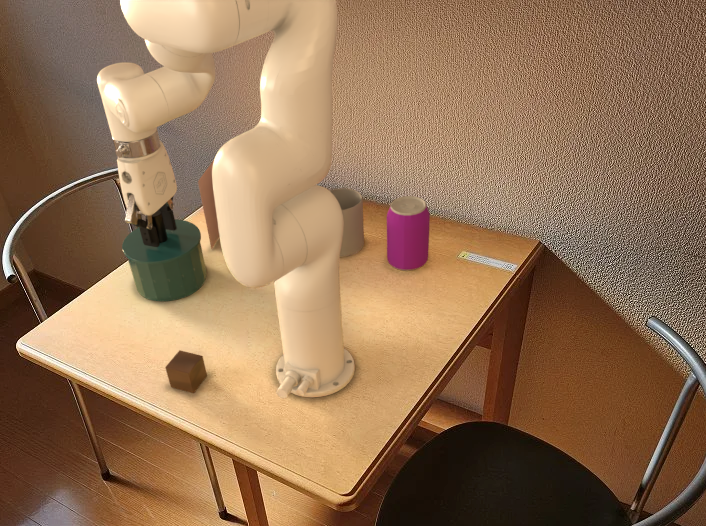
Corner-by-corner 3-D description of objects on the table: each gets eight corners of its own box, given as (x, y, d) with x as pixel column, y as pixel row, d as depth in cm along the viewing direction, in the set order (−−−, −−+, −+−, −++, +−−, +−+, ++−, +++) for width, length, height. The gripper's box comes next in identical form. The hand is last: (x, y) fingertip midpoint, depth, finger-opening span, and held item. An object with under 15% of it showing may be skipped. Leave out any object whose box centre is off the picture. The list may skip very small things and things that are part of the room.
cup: (353, 229, 149) (351, 184, 142) (371, 248, 143) (369, 202, 136) (314, 240, 147) (310, 195, 140) (331, 260, 141) (328, 214, 134)
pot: (183, 307, 135) (173, 268, 129) (122, 294, 140) (110, 256, 134) (219, 267, 143) (211, 229, 138) (160, 256, 148) (151, 218, 143)
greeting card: (225, 220, 156) (214, 153, 146) (258, 221, 154) (249, 154, 144) (207, 249, 149) (193, 181, 138) (242, 251, 147) (230, 182, 136)
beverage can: (383, 271, 137) (382, 214, 129) (391, 248, 142) (391, 192, 134) (424, 275, 134) (426, 217, 126) (431, 252, 140) (433, 195, 132)
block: (193, 393, 117) (188, 373, 114) (170, 387, 119) (164, 367, 116) (207, 376, 120) (202, 355, 117) (184, 370, 122) (179, 350, 119)
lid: (175, 273, 129) (167, 240, 124) (108, 260, 134) (98, 228, 130) (215, 230, 138) (209, 198, 134) (151, 219, 144) (143, 188, 139)
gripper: (126, 168, 116) (152, 265, 128) (182, 123, 127) (201, 216, 139) (88, 163, 119) (117, 258, 131) (146, 119, 130) (168, 211, 142)
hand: (160, 236), depth 135 cm, fingers open, 5 cm apart
